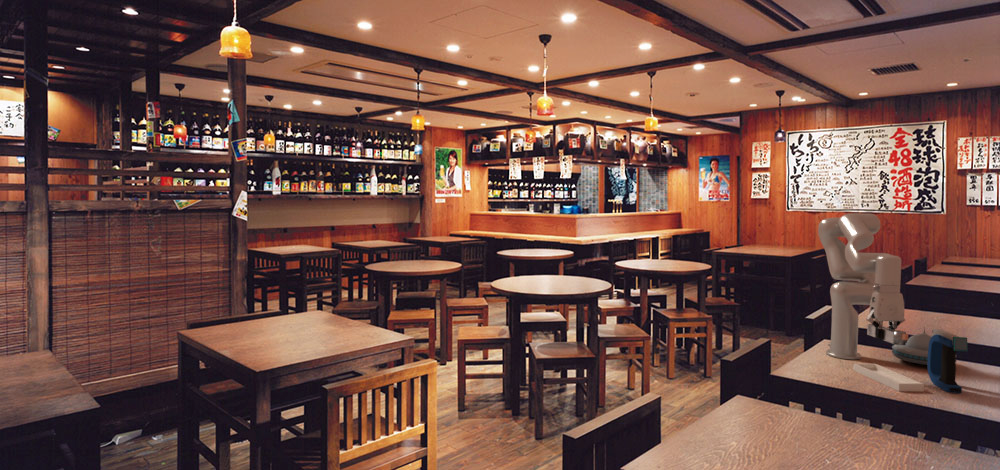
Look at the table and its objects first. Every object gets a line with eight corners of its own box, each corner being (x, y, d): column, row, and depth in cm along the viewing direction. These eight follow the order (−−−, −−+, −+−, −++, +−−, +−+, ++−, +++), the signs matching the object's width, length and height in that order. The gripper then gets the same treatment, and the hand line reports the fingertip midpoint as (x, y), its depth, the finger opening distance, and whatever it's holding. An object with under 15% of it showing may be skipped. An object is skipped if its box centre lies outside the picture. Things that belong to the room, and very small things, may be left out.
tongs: (911, 346, 186) (911, 333, 186) (900, 346, 186) (901, 333, 186) (876, 334, 203) (876, 322, 203) (866, 334, 203) (867, 322, 203)
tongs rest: (853, 370, 207) (853, 363, 207) (875, 370, 207) (875, 363, 207) (898, 391, 183) (899, 383, 183) (923, 391, 183) (924, 383, 183)
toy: (970, 371, 206) (972, 333, 205) (916, 371, 206) (918, 332, 205) (928, 356, 226) (930, 321, 226) (879, 356, 227) (881, 321, 226)
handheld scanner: (950, 394, 180) (954, 337, 179) (924, 379, 196) (928, 326, 195) (966, 396, 179) (970, 338, 178) (939, 381, 195) (943, 327, 193)
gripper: (871, 290, 191) (869, 341, 192) (917, 290, 191) (915, 341, 192) (857, 287, 199) (855, 336, 200) (902, 287, 199) (899, 336, 200)
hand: (884, 338), depth 196 cm, fingers closed on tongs, 3 cm apart
